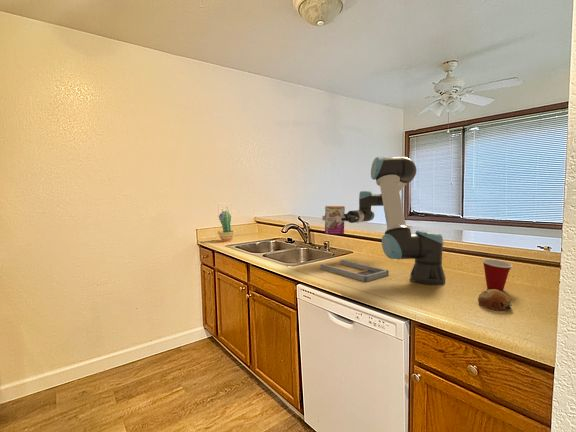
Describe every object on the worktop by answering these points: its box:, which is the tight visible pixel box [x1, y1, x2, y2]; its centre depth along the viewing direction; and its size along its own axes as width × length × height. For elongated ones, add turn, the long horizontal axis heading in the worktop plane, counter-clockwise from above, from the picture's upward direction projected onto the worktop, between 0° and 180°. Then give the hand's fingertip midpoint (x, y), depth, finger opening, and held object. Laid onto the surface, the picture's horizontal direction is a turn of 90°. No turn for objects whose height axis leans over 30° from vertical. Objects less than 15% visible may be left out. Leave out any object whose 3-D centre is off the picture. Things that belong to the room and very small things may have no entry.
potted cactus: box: [217, 210, 237, 243], centre depth 258 cm, size 15×15×25 cm
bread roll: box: [477, 289, 513, 312], centre depth 115 cm, size 10×10×8 cm
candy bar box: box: [324, 205, 346, 235], centre depth 181 cm, size 11×5×16 cm, turn 84°
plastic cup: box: [482, 258, 513, 292], centre depth 132 cm, size 11×11×12 cm
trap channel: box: [320, 258, 390, 283], centre depth 162 cm, size 31×18×2 cm, turn 38°
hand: (329, 218), depth 179 cm, fingers closed on candy bar box, 11 cm apart
